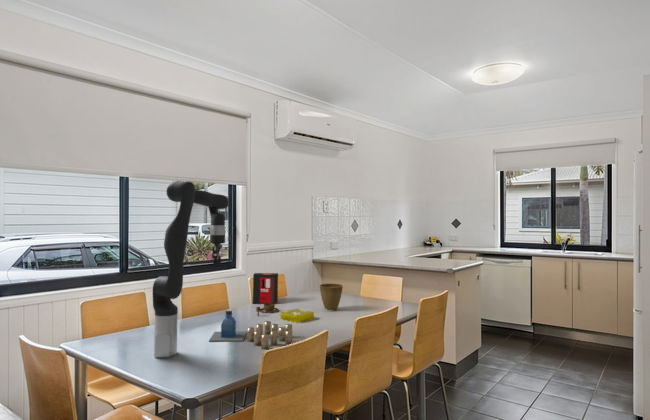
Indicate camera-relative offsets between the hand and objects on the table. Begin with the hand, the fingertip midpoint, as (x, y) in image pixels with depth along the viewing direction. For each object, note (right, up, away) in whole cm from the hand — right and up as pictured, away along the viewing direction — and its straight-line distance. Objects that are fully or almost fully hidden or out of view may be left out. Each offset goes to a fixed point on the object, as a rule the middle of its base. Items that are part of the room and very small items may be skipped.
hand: (217, 265), depth 220 cm
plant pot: (+59, -36, +57) cm, 90 cm away
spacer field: (+29, -34, -14) cm, 47 cm away
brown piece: (+17, -36, +48) cm, 62 cm away
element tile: (+39, -36, +32) cm, 62 cm away
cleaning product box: (+14, -36, +78) cm, 87 cm away
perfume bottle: (+8, -34, -9) cm, 36 cm away
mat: (+8, -34, -9) cm, 36 cm away
